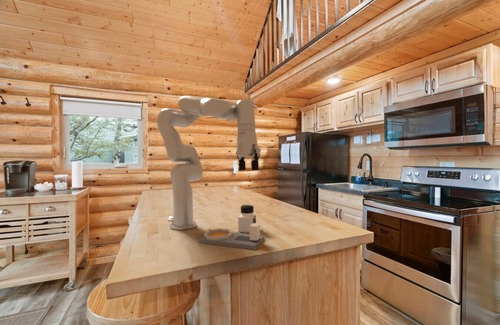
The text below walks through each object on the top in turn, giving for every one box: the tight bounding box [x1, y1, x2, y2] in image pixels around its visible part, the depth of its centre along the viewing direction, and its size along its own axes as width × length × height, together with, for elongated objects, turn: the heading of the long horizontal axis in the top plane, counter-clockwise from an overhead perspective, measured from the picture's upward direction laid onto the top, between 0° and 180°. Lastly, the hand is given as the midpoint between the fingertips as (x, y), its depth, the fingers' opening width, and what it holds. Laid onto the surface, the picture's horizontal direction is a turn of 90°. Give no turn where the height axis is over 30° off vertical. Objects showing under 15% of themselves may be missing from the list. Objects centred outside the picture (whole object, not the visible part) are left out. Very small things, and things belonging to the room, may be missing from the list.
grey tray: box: [198, 228, 265, 251], centre depth 98 cm, size 24×12×3 cm, turn 70°
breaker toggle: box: [249, 223, 261, 241], centre depth 94 cm, size 3×4×6 cm
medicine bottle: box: [237, 204, 257, 234], centre depth 111 cm, size 7×7×12 cm
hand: (248, 170), depth 100 cm, fingers open, 9 cm apart
